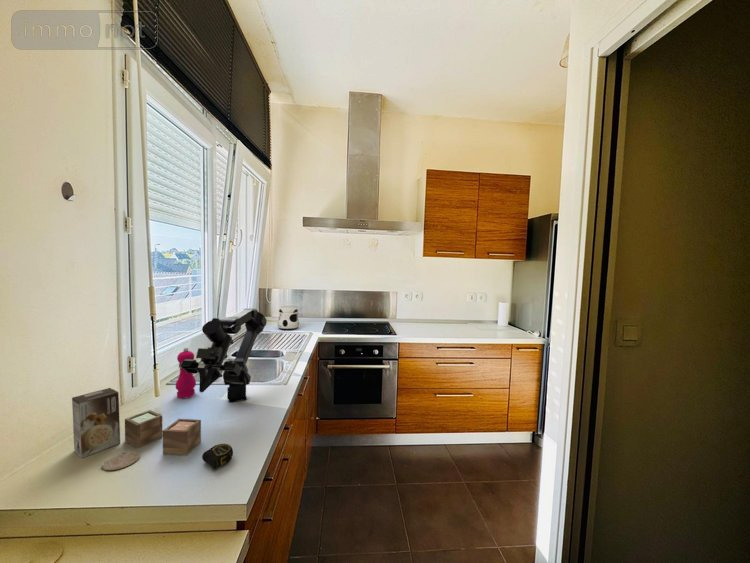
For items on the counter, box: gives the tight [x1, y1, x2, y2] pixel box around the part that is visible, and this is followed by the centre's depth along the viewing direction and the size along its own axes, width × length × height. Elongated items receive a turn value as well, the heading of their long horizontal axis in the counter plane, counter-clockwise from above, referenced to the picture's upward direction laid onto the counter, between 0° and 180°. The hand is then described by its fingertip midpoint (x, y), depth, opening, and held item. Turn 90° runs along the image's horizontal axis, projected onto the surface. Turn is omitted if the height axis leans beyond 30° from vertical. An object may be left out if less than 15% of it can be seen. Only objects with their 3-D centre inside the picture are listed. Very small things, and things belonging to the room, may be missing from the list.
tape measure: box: [201, 443, 234, 470], centre depth 88 cm, size 7×7×4 cm
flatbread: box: [101, 451, 141, 471], centre depth 86 cm, size 8×8×1 cm
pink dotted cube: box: [169, 421, 195, 430], centre depth 93 cm, size 5×5×5 cm
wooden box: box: [162, 418, 202, 457], centre depth 93 cm, size 7×7×7 cm
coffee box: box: [71, 387, 121, 459], centre depth 92 cm, size 9×6×16 cm
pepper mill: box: [175, 347, 197, 399], centre depth 128 cm, size 7×7×20 cm
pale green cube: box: [131, 413, 156, 423], centre depth 97 cm, size 5×5×5 cm
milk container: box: [277, 305, 300, 331], centre depth 259 cm, size 17×17×18 cm
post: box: [124, 409, 163, 449], centre depth 97 cm, size 7×7×7 cm
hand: (201, 391), depth 102 cm, fingers closed
